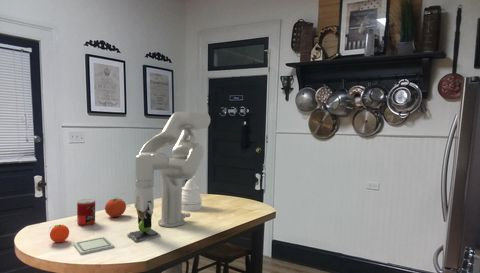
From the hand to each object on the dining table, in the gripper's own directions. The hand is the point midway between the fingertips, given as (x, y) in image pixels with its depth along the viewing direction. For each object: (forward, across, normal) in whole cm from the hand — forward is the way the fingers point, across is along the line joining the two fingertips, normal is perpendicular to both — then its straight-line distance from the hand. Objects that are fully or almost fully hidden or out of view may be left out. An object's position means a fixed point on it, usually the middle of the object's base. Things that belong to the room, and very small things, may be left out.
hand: (144, 224), depth 139 cm
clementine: (+5, -14, -30) cm, 34 cm away
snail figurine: (+3, 0, 0) cm, 3 cm away
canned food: (+5, -33, -16) cm, 37 cm away
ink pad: (+5, 0, 0) cm, 5 cm away
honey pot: (+6, -30, +40) cm, 50 cm away
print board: (+5, -1, -20) cm, 21 cm away
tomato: (+5, -37, 0) cm, 37 cm away
